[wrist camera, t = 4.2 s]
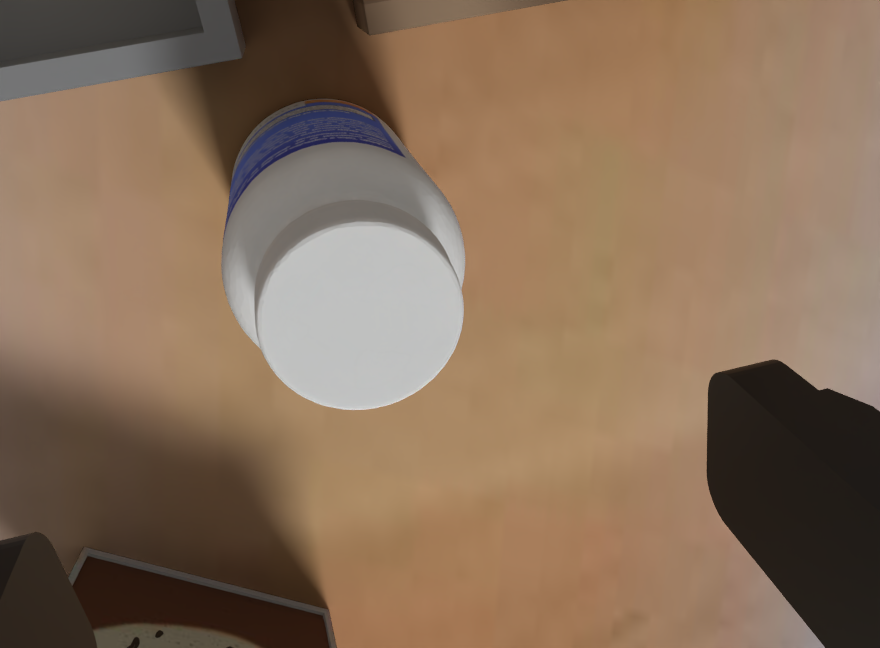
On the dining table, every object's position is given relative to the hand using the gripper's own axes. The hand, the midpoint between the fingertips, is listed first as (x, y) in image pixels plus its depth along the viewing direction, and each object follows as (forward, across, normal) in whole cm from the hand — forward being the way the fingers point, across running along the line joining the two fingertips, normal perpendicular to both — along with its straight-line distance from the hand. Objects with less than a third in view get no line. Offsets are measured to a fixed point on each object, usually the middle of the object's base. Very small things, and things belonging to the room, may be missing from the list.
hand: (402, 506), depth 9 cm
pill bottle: (+16, 0, 0) cm, 16 cm away
